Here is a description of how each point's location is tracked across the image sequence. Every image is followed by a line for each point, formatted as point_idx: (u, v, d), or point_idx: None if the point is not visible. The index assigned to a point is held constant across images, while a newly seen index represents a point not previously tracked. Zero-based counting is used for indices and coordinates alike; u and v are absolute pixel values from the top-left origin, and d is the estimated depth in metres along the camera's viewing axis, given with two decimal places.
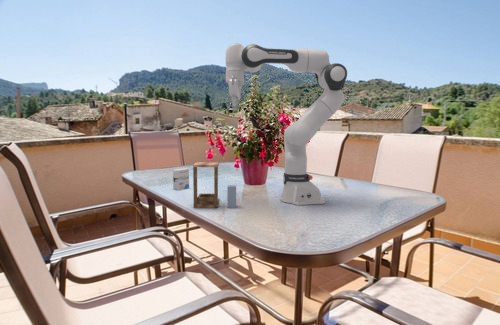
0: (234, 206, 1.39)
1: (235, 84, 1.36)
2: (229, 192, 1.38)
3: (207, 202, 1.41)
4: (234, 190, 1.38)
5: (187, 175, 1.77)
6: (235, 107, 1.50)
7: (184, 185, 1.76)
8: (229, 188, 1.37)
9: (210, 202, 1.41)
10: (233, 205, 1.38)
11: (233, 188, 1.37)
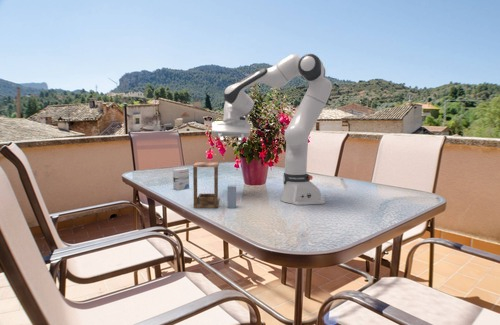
0: (234, 206, 1.39)
1: (212, 125, 1.56)
2: (229, 192, 1.38)
3: (207, 202, 1.41)
4: (234, 190, 1.38)
5: (187, 175, 1.77)
6: None
7: (184, 185, 1.76)
8: (229, 188, 1.37)
9: (210, 202, 1.41)
10: (233, 205, 1.38)
11: (233, 188, 1.37)
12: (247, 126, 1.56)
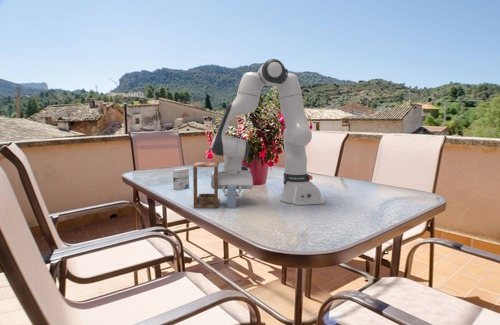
0: (234, 206, 1.39)
1: (212, 177, 1.44)
2: (229, 192, 1.38)
3: (207, 202, 1.41)
4: (234, 190, 1.38)
5: (187, 175, 1.77)
6: (236, 195, 1.40)
7: (184, 185, 1.76)
8: (229, 188, 1.37)
9: (210, 202, 1.41)
10: (233, 205, 1.38)
11: (233, 188, 1.37)
12: (249, 177, 1.43)
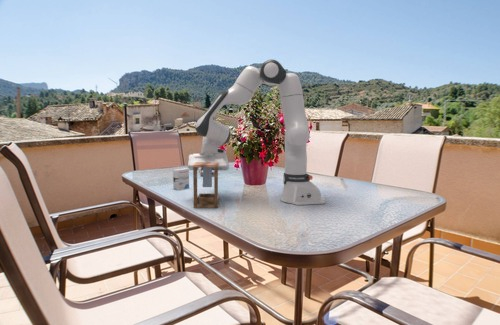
0: (209, 185, 1.44)
1: (189, 159, 1.49)
2: (204, 172, 1.44)
3: (207, 202, 1.41)
4: (209, 170, 1.44)
5: (187, 175, 1.77)
6: (211, 175, 1.45)
7: (184, 185, 1.76)
8: (205, 168, 1.44)
9: (210, 202, 1.41)
10: (208, 184, 1.44)
11: (208, 168, 1.44)
12: (225, 159, 1.49)
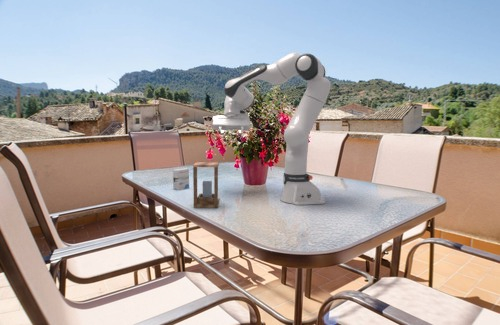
0: None
1: (213, 119, 1.60)
2: (204, 188, 1.41)
3: (207, 202, 1.41)
4: (209, 186, 1.41)
5: (187, 175, 1.77)
6: None
7: (184, 185, 1.76)
8: (204, 184, 1.41)
9: (210, 202, 1.41)
10: None
11: (208, 184, 1.41)
12: (247, 119, 1.60)
